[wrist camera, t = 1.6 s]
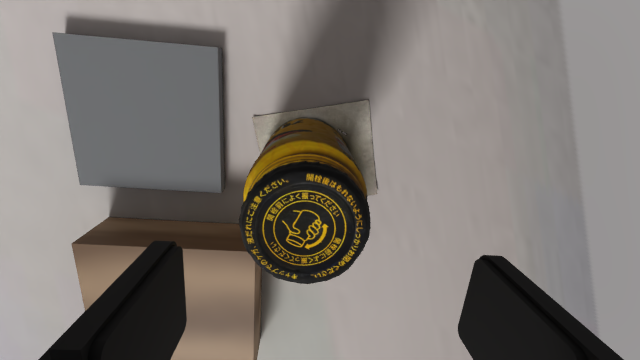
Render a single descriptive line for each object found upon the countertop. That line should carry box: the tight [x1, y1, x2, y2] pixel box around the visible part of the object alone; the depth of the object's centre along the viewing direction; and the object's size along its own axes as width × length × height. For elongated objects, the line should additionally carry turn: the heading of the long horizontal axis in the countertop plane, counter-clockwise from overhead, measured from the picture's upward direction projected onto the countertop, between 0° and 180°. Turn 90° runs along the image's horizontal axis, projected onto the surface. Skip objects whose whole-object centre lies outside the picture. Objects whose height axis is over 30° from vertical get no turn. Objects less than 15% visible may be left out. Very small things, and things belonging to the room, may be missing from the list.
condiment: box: [239, 100, 377, 284], centre depth 17 cm, size 7×8×12 cm
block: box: [72, 217, 262, 360], centre depth 24 cm, size 12×12×4 cm
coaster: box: [52, 32, 225, 193], centre depth 21 cm, size 10×10×1 cm
